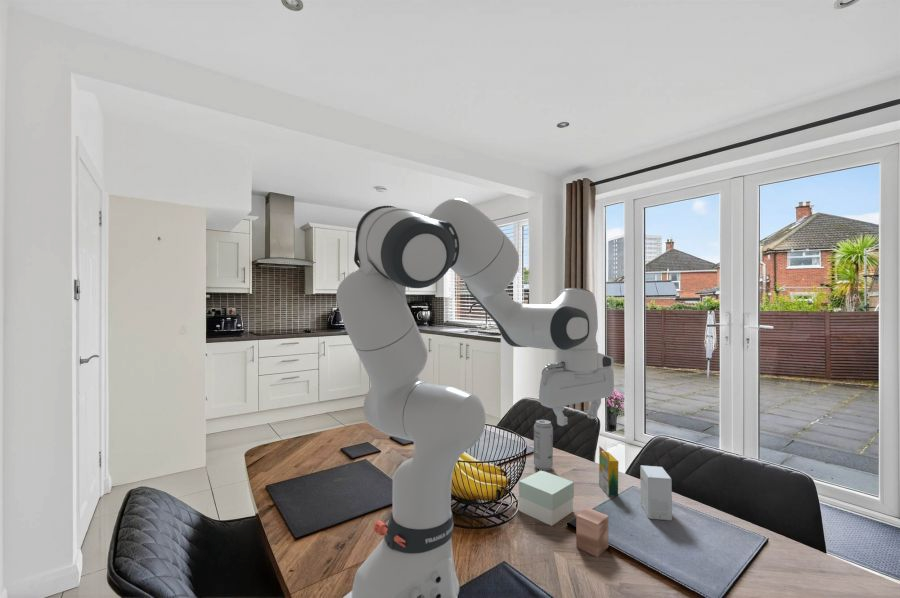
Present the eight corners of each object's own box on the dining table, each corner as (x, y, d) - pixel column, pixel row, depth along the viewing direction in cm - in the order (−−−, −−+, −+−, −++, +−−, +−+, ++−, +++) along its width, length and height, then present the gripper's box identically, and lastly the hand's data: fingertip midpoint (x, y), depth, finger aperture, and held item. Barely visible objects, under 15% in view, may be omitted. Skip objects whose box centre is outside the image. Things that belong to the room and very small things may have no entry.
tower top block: (552, 511, 101) (552, 494, 101) (518, 496, 108) (519, 481, 108) (573, 497, 108) (573, 482, 108) (540, 484, 115) (541, 470, 115)
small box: (672, 521, 103) (672, 479, 103) (647, 519, 104) (648, 477, 104) (662, 505, 111) (662, 466, 111) (640, 503, 112) (640, 464, 112)
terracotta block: (597, 556, 89) (597, 524, 89) (576, 546, 92) (576, 515, 92) (608, 547, 92) (608, 515, 92) (587, 537, 96) (587, 507, 96)
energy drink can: (553, 472, 132) (553, 424, 132) (534, 470, 133) (534, 424, 133) (551, 464, 138) (551, 419, 138) (533, 463, 139) (533, 418, 139)
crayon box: (618, 496, 116) (618, 454, 116) (608, 496, 116) (608, 454, 116) (608, 484, 123) (608, 445, 123) (598, 484, 123) (598, 445, 123)
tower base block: (551, 527, 101) (551, 510, 101) (518, 511, 108) (518, 496, 108) (573, 512, 108) (573, 497, 108) (540, 499, 115) (540, 484, 115)
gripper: (552, 367, 86) (553, 433, 86) (618, 358, 96) (619, 417, 96) (532, 362, 91) (532, 425, 91) (596, 354, 101) (597, 411, 102)
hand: (577, 421), depth 94 cm, fingers open, 8 cm apart
